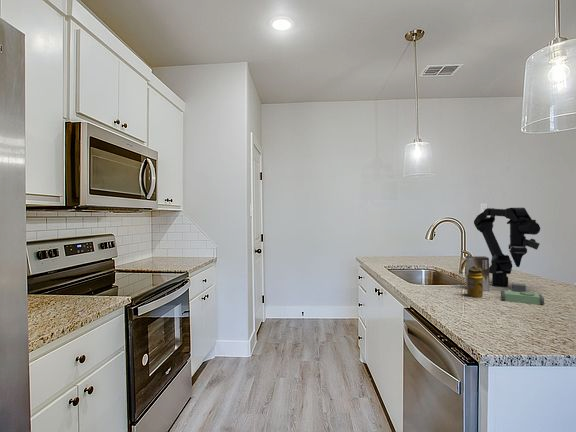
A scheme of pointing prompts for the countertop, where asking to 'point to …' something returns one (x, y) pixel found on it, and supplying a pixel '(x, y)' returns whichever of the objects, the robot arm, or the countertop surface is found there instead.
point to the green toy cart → (522, 297)
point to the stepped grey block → (518, 287)
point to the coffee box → (479, 268)
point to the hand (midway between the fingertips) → (517, 265)
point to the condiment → (474, 284)
